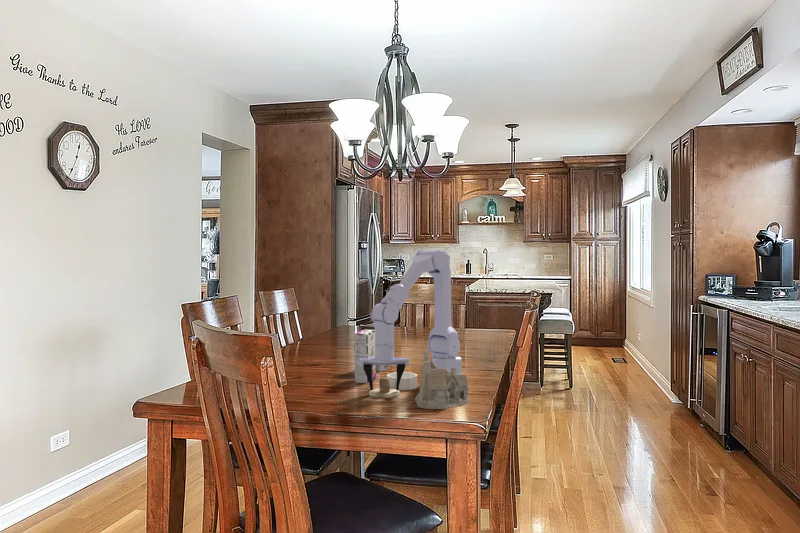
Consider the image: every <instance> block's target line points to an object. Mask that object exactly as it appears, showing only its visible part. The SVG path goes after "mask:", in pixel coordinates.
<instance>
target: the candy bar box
mask: <svg viewBox="0 0 800 533" xmlns="http://www.w3.org/2000/svg"><path fill="white" fill-rule="evenodd" d="M353 351H354V352H353V356H354V358H353V359H354V361H353V362H354V383H358V384H359V383H360V384H362V383H363V384H369V381H368V378H367V376H366V373H365V371H364V369H363V367H364V366H360V358H375V330H362V331H361V330H360V331H358V332H355V333H354V334H353ZM372 378H373V380H375V379H376V378H377V371H376V365H373V374H372Z"/></svg>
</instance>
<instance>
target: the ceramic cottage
mask: <svg viewBox="0 0 800 533" xmlns="http://www.w3.org/2000/svg"><path fill="white" fill-rule="evenodd" d="M419 370H420V372H421V381H420V384H419V386H418V387H419V388H418V389H419V390H418V392H417V395H415V398H414V401H415V402H416V403H415V404H416V406H417V407H418V408H421V409H425V410H426V409H427V410H439V409H440V410H441V409H442V410H443V409H450V408H452V407H454V408H458V407H460V406H464V405H468V404H469V403H470V397H468V395H469V389H470V388H469V383H468V376H467V373H466V374H465V373H462V374H456V367H451V372H449V371H448V370H447V369H444V368H443V369H438V368H437V366H436V365H435V364H434V363H433V360H431V359H430V356H429V350H428V349H426V350H423V364H421V366H420V369H419ZM457 406H458V407H457Z"/></svg>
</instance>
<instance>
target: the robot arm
mask: <svg viewBox="0 0 800 533" xmlns="http://www.w3.org/2000/svg"><path fill="white" fill-rule="evenodd" d="M450 260H451V259H450V255H449V254H448V252H446V250H444V249H420V250H418V251H417V252H416V253H415V255H414V256H413V257H412V263H411V264H410V266H409V268H408V270H406V273H405V274H404V276H403V277H402V279H401V280H400V282H399V283H395V284H393V285H391V286H390V287H389V291H388V292H387V293H386V295H385V296H384V297H383V298H382V299H381V301H380V303H376V304H375V305H374V306H373V307H372V309H371V312H370V313H369V314H370V316H369V317H370V318H371V320H372V322H373V325H374V327H375V358H360V366H364V367H363V369H364V371H365V373H366V376H367V378H368V381H369V383H368V385H369V391H371V390H374V379H373V378H372V374H373V365H389V366H396V372H397V383H396V390H399V383H400V380H401V377H402V374H403V372H405V369H406V367H409V366H410V358H409V357H406V358H405V357H395V322H396V321H397V320H399V312H401V311H400V310H401V307H402V306H403V304H404V303H405V302H406V301H407V299H408V298H409V296H410V292H409V290H411V288H412V287H413V286H414V285H415V284H416V282H417V280H418V279H419V278H420V277H421V276H422V275H423V274H426V273H428V274H429V275H430V276H431V277H432V279H433V283H434V286H433V291H434V295H433V296H434V301H433V302H434V307H433V308H434V327H433V328H432V329H431V330H430V331H429V337H428V340H427V350H428V352H430V356H431V357H432V362H433V363H434V364H435V365H436V366H437V368H438V369H443V368H444V369H447V370H448V371H449V372H451V367H456V374H463V372H462V371H463V370H462V368H463V366H462V365H463V364H462V357H461V356H457V355H458V354H459V353H460V350H461V342H460V340H459V332H457V330H456V329H455V328H454V327H453V326H452V271H451V266H450ZM399 391H400V390H399Z"/></svg>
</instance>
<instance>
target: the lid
mask: <svg viewBox="0 0 800 533" xmlns="http://www.w3.org/2000/svg"><path fill="white" fill-rule="evenodd" d="M378 379H379V388H375V389H374V388H373V390H369V392H368V395H369V397H375V398H393V397H397V396H398V397H400V395H401V390H396V389H390V378H387V376H385V377H379V378H378Z"/></svg>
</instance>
